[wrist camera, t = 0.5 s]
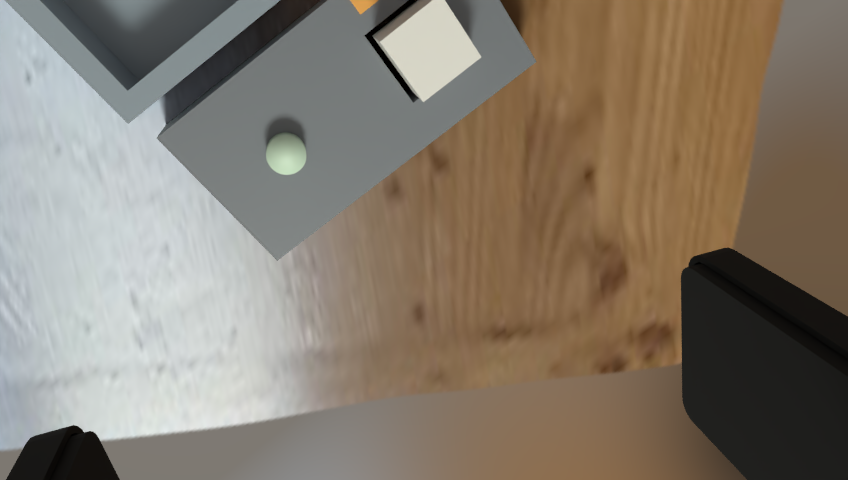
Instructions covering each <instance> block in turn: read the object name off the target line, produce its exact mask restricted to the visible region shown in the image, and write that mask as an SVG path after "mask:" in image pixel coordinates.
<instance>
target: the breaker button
mask: <svg viewBox="0 0 848 480" xmlns="http://www.w3.org/2000/svg"><path fill="white" fill-rule="evenodd" d="M373 38H374V39H375V40H376V42H377V43H378V45H379V46H380V47H381V49H382V50H383V51H384V53H385V54H386V56H387V57H388V58H389V60H390V61H391V63H392V64H393V65H394V67H395V68H396V69H397V71H398V72H399V74H400V75H401V76H402V78H403V79H404V81H405V82H406V83H407V85H408V86H409V87H410V89H411V90H412V92H413V93H414V94H415V95H416V96H417V97H418V98H419V99H420V100H422V101H423V102H424V101H426V100H427V99H428V98H430V97H431V96H432V95H433V94H435V93H436V92H437V91H439V90H440V89H441V88H442V87H444V86H445V85H446V84H448V83H449V82H450V81H451V80H453V79H454V78H455V77H457V76H458V75H459V74H461V73H462V72H463V71H464V70H466V69H467V68H468V67H470V66H471V65H472V64H473V63H475V62H476V61H477V60H479V59H480V58H481V55H480V54H479V52H478V51H477V49H476V48H475V46H474V45H473V43H472V41H471V40H470V38H469V37H468V35H467V34H466V32H465V31H464V29H463V27H462V26H461V24H460V23H459V21H458V20H457V18H456V17H455V15H454V13H453V12H452V10H451V9H450V7H449V6H448V4H447V3H446V1H445V0H417V1H415V2H414V3H413V4H412V5H410V6H409V7H408V8H407V9H405V10H404V11H403V12H402V13H400V14H399V15H398V16H396V17H395V18H394V19H393V20H391V21H390V22H389V23H388V24H386V25H385V26H384V27H383V28H381V29H380V30H379V31H378V32H376V33H375V34H374V35H373Z"/></svg>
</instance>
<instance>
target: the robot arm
mask: <svg viewBox="0 0 848 480" xmlns="http://www.w3.org/2000/svg"><path fill="white" fill-rule="evenodd" d="M681 311H682V393H683V394H682V397H683V404H684V407H685V410H686V412H687V414H688V415H689V417H690V419H691V420H692V421H693V422H694V424H695V425H696V426H697V427H698V428H699V429H700V430H701V431H702V432H703V433H704V434H705V435H706V436H707V437H708V439H709V440H710V441H711V442H712V443H713V444H714V445H715V446H716V447H717V448H718V449H719V450H720V451H721V452H722V453H723V454H724V455H725V457H726V458H727V459H728V460H729V461H730V462H731V463H732V464H733V465H734V466H735V467H736V468H737V469H738V470H739V471H740V472H741V474H742V475H743V476H744V477H745V478H746V479H747V480H848V317H847V316H846V315H844V314H842V313H841V312H839V311H837V310H835V309H834V308H832V307H830V306H829V305H827V304H825V303H824V302H822V301H820V300H818V299H817V298H815V297H813V296H812V295H810V294H808V293H807V292H805V291H803V290H801V289H800V288H798V287H796V286H795V285H793V284H791V283H789V282H788V281H786V280H784V279H783V278H781V277H779V276H778V275H776V274H774V273H772V272H771V271H769V270H767V269H766V268H764V267H762V266H761V265H759V264H757V263H755V262H754V261H752V260H750V259H749V258H747V257H745V256H743V255H742V254H740V253H738V252H737V251H735V250H733V249H730V248H723V249H719V250H715V251H712V252H708V253H704V254H701V255H697V256H694V257H693V258H692V259H691V260H690V262H689V266H688V267H687V268H685V269H684V270H683V271H682V275H681ZM6 480H120V479H119V478H118V475H117V474H116V471H115V470H114V468H113V466H112V464H111V462H110V460H109V458H108V456H107V454H106V452H105V450H104V448H103V446H102V444H101V442H100V440H99V438H98V437H97V435H96V434H95V433H94V432H91V431H89V432H85V433H84V432H83V430H82V429H81V428H79V427H78V426H74V425H73V426H69V427H66V428H62V429H58V430H55V431H51V432H47V433H44V434H40V435H36V436H34V437H31V438H30V439H29V440H28V442H27V443H26V445H25V446H24V448H23V450H22V452H21V454H20V456H19V458H18V459H17V461H16V463H15V465H14V466H13V468H12V470H11V472H10V474H9V476H8V477H7V479H6Z"/></svg>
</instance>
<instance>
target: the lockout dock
mask: <svg viewBox="0 0 848 480" xmlns="http://www.w3.org/2000/svg"><path fill="white" fill-rule="evenodd" d="M5 1H6V2H7V3H8V4H9V5H10V6H11V7H12V8H13V9H14V10H15V11H16V12H17V13H18V14H19V15H20V16H21V17H22V18H23V19H24V20H25V21H26V22H27V23H28V24H29V25H30V26H31V27H32V28H33V29H34V30H35V31H36V32H37V33H38V34H39V35H40V36H41V37H42V38H43V39H44V40H45V41H46V42H47V43H48V44H49V45H50V46H51V47H52V48H53V49H54V50H55V51H56V52H57V53H58V54H59V55H60V56H61V57H62V58H63V59H64V60H65V61H66V62H67V63H68V64H69V65H70V66H71V67H72V68H73V69H74V70H75V71H76V72H77V73H78V74H79V75H80V76H81V77H82V78H83V79H84V80H85V81H86V82H87V83H88V84H89V85H90V86H91V87H92V88H93V89H94V90H95V91H96V92H97V93H98V94H99V95H100V96H101V97H102V98H103V99H104V100H105V101H106V102H107V103H108V104H109V105H110V106H111V107H112V108H113V109H114V110H115V111H116V112H117V113H118V114H119V115H120V116H121V117H122V118H123V119H124V120H125V121H126V122H127V123H128V124H129V123H130V122H131V121H132V120H133V119H135V118H136V117H137V116H138V115H140V114H141V113H142V112H143V111H145V110H146V109H147V108H148V107H149V106H151V105H152V104H153V103H154V102H156V101H157V100H158V99H159V98H161V97H162V96H163V95H164V94H165V93H167V92H168V91H169V90H170V89H172V88H173V87H174V86H175V85H177V84H178V83H179V82H180V81H181V80H183V79H184V78H185V77H186V76H188V75H189V74H190V73H191V72H193V71H194V70H195V69H196V68H197V67H199V66H200V65H201V64H202V63H204V62H205V61H206V60H207V59H209V58H210V57H211V56H212V55H213V54H215V53H216V52H217V51H218V50H220V49H221V48H222V47H223V46H225V45H226V44H227V43H228V42H229V41H231V40H232V39H233V38H234V37H236V36H237V35H238V34H239V33H241V32H242V31H243V30H244V29H245V28H247V27H248V26H249V25H250V24H252V23H253V22H254V21H255V20H257V19H258V18H259V17H260V16H261V15H263V14H264V13H265V12H266V11H268V10H269V9H270V8H271V7H273V6H274V5H275V4H276V3H278V2H279V1H280V0H5Z"/></svg>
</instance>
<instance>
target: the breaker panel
mask: <svg viewBox="0 0 848 480" xmlns="http://www.w3.org/2000/svg"><path fill="white" fill-rule="evenodd" d="M407 1H408V0H320V1H319V2H318V3H317V4H315V5H314V6H313V7H312V8H310V9H309V10H308V11H307V12H306V13H304V14H303V15H302V16H301V17H299V18H298V19H297V20H296V21H294V22H293V23H292V24H291V25H289V26H288V27H287V28H286V29H284V30H283V31H282V32H281V33H279V34H278V35H277V36H276V37H275V38H273V39H272V40H271V41H270V42H268V43H267V44H266V45H265V46H263V47H262V48H261V49H260V50H258V51H257V52H256V53H255V54H253V55H252V56H251V57H250V58H249V59H247V60H246V61H245V62H244V63H242V64H241V65H240V66H239V67H237V68H236V69H235V70H234V71H232V72H231V73H230V74H229V75H227V76H226V77H225V78H224V79H222V80H221V81H220V82H219V83H218V84H216V85H215V86H214V87H213V88H211V89H210V90H209V91H208V92H206V93H205V94H204V95H203V96H201V97H200V98H199V99H198V100H196V101H195V102H194V103H193V104H191V105H190V106H189V107H188V108H187V109H185V110H184V111H183V112H182V113H180V114H179V115H178V116H177V117H175V118H174V119H173V120H172V121H170V122H169V123H168V124H167V125H166V126H165V127H164V128H163V130H162V131H161V133H160V134H159V135H158V137H157V139H158V140H159V141H160V142H161V143H162V144H163V145H164V146H165V147H166V148H167V149H168V150H169V151H170V152H171V153H172V154H173V155H174V156H175V157H176V158H177V159H178V160H179V161H180V162H181V163H182V164H183V165H184V166H185V167H186V168H187V169H188V170H189V171H190V173H191V174H192V175H193V176H194V177H195V178H196V179H197V180H198V181H199V182H200V183H201V184H202V185H203V186H204V187H205V188H206V189H207V190H208V191H209V192H210V193H211V194H212V195H213V196H214V197H215V198H216V199H217V200H218V201H219V202H220V203H221V204H222V205H223V206H224V207H225V208H226V209H227V210H228V211H229V212H230V213H231V214H232V215H233V216H234V217H235V218H236V219H237V220H238V221H239V222H240V223H241V224H242V225H243V226H244V227H245V228H246V229H247V230H248V231H249V232H250V233H251V234H252V235H253V236H254V238H255V239H256V240H257V241H258V242H259V243H260V244H261V245H262V246H263V247H264V248H265V249H266V250H267V251H268V252H269V253H270V254H271V255H272V256H273V257H274V258H275V259H276V260H277V261H278V260H279V259H280V258H281V257H283V256H284V255H285V254H287V253H288V252H289V251H291V250H292V249H293V248H294V247H296V246H297V245H298V244H300V243H301V242H302V241H304V240H305V239H306V238H307V237H309V236H310V235H311V234H313V233H314V232H315V231H317V230H318V229H319V228H320V227H322V226H323V225H324V224H326V223H327V222H328V221H330V220H331V219H332V218H333V217H335V216H336V215H337V214H339V213H340V212H341V211H343V210H344V209H345V208H347V207H348V206H349V205H350V204H352V203H353V202H354V201H356V200H357V199H358V198H360V197H361V196H362V195H363V194H365V193H366V192H367V191H369V190H370V189H371V188H373V187H374V186H375V185H376V184H378V183H379V182H380V181H382V180H383V179H384V178H386V177H387V176H388V175H389V174H391V173H392V172H393V171H395V170H396V169H397V168H399V167H400V166H401V165H402V164H404V163H405V162H406V161H408V160H409V159H410V158H412V157H413V156H414V155H416V154H417V153H418V152H419V151H421V150H422V149H423V148H425V147H426V146H427V145H429V144H430V143H431V142H432V141H434V140H435V139H436V138H438V137H439V136H440V135H442V134H443V133H444V132H445V131H447V130H448V129H449V128H451V127H452V126H453V125H455V124H456V123H457V122H458V121H460V120H461V119H462V118H464V117H465V116H466V115H468V114H469V113H470V112H471V111H473V110H474V109H475V108H477V107H478V106H479V105H481V104H482V103H483V102H484V101H486V100H487V99H488V98H490V97H491V96H492V95H494V94H495V93H496V92H498V91H499V90H500V89H501V88H503V87H504V86H505V85H507V84H508V83H509V82H511V81H512V80H513V79H514V78H516V77H517V76H518V75H520V74H521V73H522V72H524V71H525V70H526V69H527V68H529V67H530V66H531V65H533V64H534V63H535V62H536V60H535V58H534V57H533V55H532V53H531V52H530V50H529V48H528V47H527V45H526V43H525V42H524V40H523V38H522V37H521V35H520V33H519V32H518V30H517V28H516V27H515V25H514V23H513V22H512V20H511V18H510V17H509V15H508V13H507V12H506V10H505V8H504V7H503V5H502V3H501V2H500V0H445V1H446V3H447V4H448V6H449V7H450V9H451V10H452V12H453V13H454V15H455V17H456V18H457V20H458V21H459V23H460V24H461V26H462V27H463V29H464V31H465V32H466V34H467V35H468V37H469V38H470V40H471V41H472V43H473V45H474V46H475V48H476V49H477V51H478V52H479V54H480V55H481V58H480V59H479V60H477V61H476V62H475V63H473V64H472V65H471V66H470V67H468V68H467V69H466V70H464V71H463V72H462V73H461V74H459V75H458V76H457V77H455V78H454V79H453V80H451V81H450V82H449V83H448V84H446V85H445V86H444V87H442V88H441V89H440V90H439V91H437V92H436V93H435V94H433V95H432V96H431V97H430V98H428V99H427V100H426V101H424V102H423V101H422V100H420V99H419V98H418V97H417V96H416V95H415V94H414V93H413V92H412V90H411V89H409V90H408V91H406V92H405V91H404V89H403V88H402V87H401V85H400V84H399V83H398V81H397V80H396V78H395V77H394V76H393V74H392V73H391V72H390V70H389V69H388V67H387V66H386V65H385V63H384V62H383V61H382V59H381V58H380V56H379V55H378V54H377V52H376V51H375V50H374V48H373V47H372V45H371V44H370V43H369V41H368V40H367V39H366V37H365V36H364V35H366V34H367V33H368V32H369V31H371V30H372V29H373V28H374V27H376V26H377V25H378V24H379V23H381V22H382V21H383V20H384V19H386V18H387V17H388V16H389V15H391V14H392V13H393V12H394V11H396V10H397V9H398V8H399V7H401V6H402V5H403V4H405V3H406V2H407Z"/></svg>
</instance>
